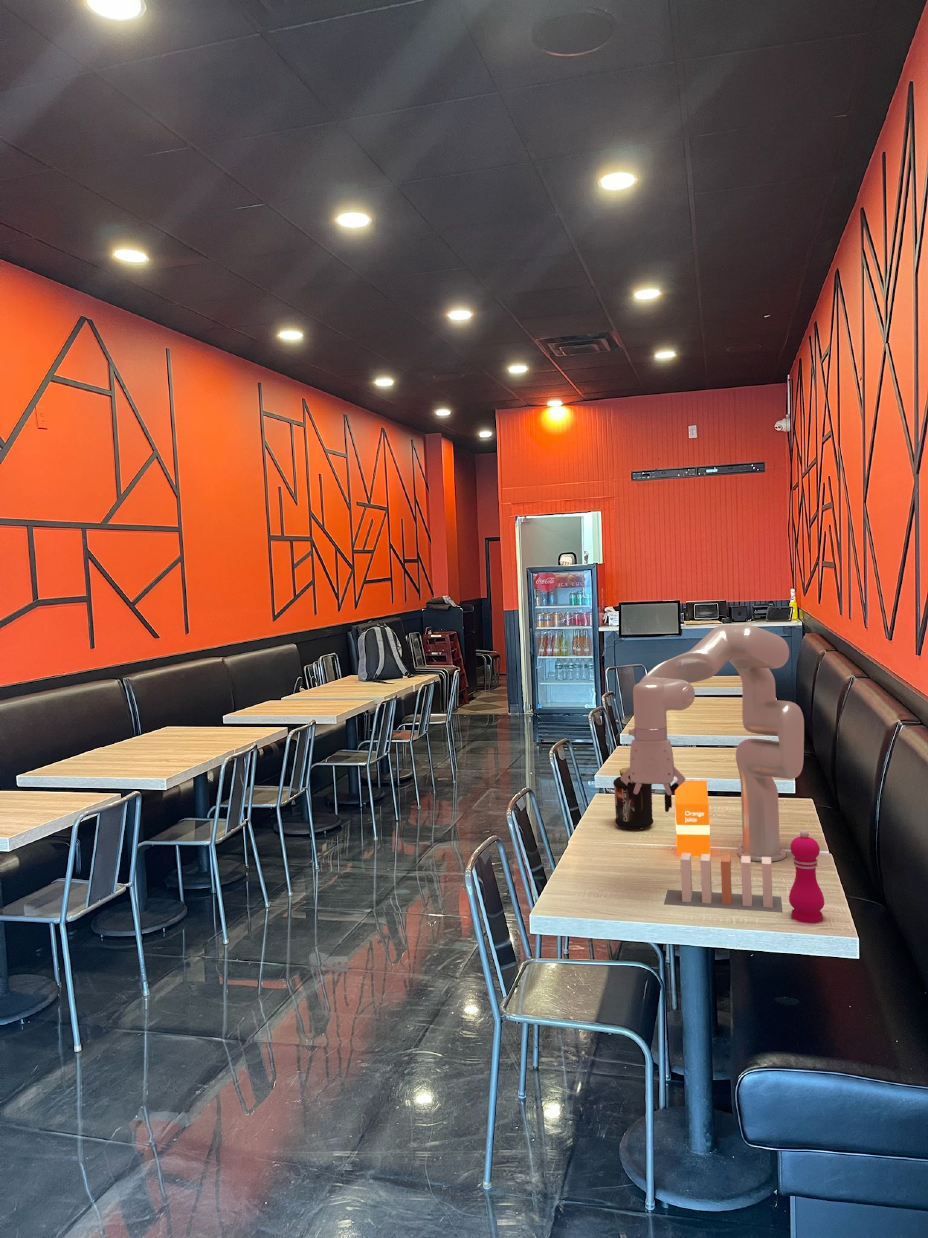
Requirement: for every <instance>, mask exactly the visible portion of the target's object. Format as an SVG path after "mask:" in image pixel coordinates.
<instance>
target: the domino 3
mask: <svg viewBox="0 0 928 1238" xmlns="http://www.w3.org/2000/svg"><path fill="white" fill-rule="evenodd" d="M731 862H732V861H731V855H730V854H721V857H720V877H721V893H722V904H727V905H731V903H732V894H733V891H732V889H733V888H732V871H731V870H732V868H731V867H732V865H731V864H732V863H731Z"/></svg>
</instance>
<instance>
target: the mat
mask: <svg viewBox="0 0 928 1238" xmlns="http://www.w3.org/2000/svg"><path fill="white" fill-rule="evenodd" d="M772 898H773V908H770V907H764V906H763V894H762V895H759V894H752V906H743V898H742V893H732V903H731V905H727V904H722V892H714V891H712V900H711V903H702V891H700V890H699V891H696V890H695V891H694V890H692V900H691V902H682V889H681V890H680V889H667V891H666V894H665V898H664V901H663V905H664V906H665V905H667V906H681V907H694V908H695V907H696V908H698V907H699V908H708V909H709V908H710V909H711V908H712V909H724V910H725V909H726V910H738V911H741V910H742V911H752V912H753V911H755V912H769V913H783V912H784V911H783V904H782V903H783V901H782V896H778V895H776V896H775V895H772Z"/></svg>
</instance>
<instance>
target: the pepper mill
mask: <svg viewBox="0 0 928 1238" xmlns="http://www.w3.org/2000/svg"><path fill="white" fill-rule="evenodd" d="M809 834H810V833H809V831H808V830H807V829H802V830H800V832H799V835H800V836H797V837H795V838H793V839H792V840H791V843H790V849H789V850H790V852H791V854H792V856H793V859H792V860H793V862H792V864H793V866H794V867H795V878H794V880H793V881H794V882H793V884H792V887H791V888H790V892H789V894H788V895H789V896H788V900H789V901H788V903H789V904H790V906H791V907H792V910H791V919H793V920H795V921H797V922H799V923H804V924H816V923H821V922H822V921H823V912H822V911H821V910H822V909H823V908H824V906H825V898H824V897H825V896H824V894H823V892H822V890H821V887H820V886H819V884H818V881H817V875H816V873H817V872H816V871H817V869H816V868H818V866H819V865H818V859H817V858H818V857H819V855H820V852H821V851H820V845H819V843H818V842H817V841H816V839H814V838H813V837H811V836H810V835H809Z"/></svg>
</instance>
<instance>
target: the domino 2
mask: <svg viewBox="0 0 928 1238" xmlns="http://www.w3.org/2000/svg"><path fill="white" fill-rule="evenodd" d="M711 867H712V863H711V853H710V854H702V855H701V856H700V881H701V882H700V883H701V892H702V903H711V900H712V892H713V889H712V883H713V882H712V868H711Z"/></svg>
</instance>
